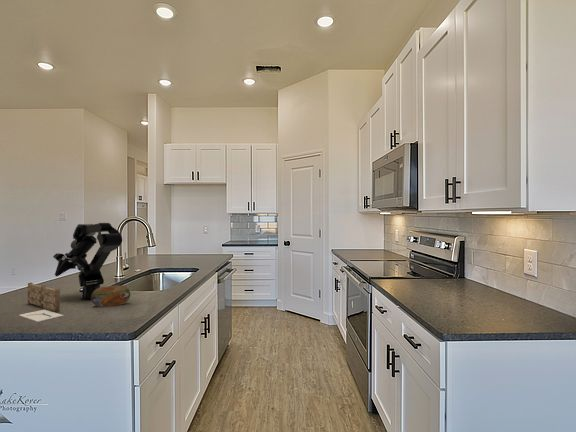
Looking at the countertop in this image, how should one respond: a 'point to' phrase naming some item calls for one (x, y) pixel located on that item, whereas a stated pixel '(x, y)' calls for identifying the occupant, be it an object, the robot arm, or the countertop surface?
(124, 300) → the tin
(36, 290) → the fence panel
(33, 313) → the card
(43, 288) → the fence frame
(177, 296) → the countertop surface
